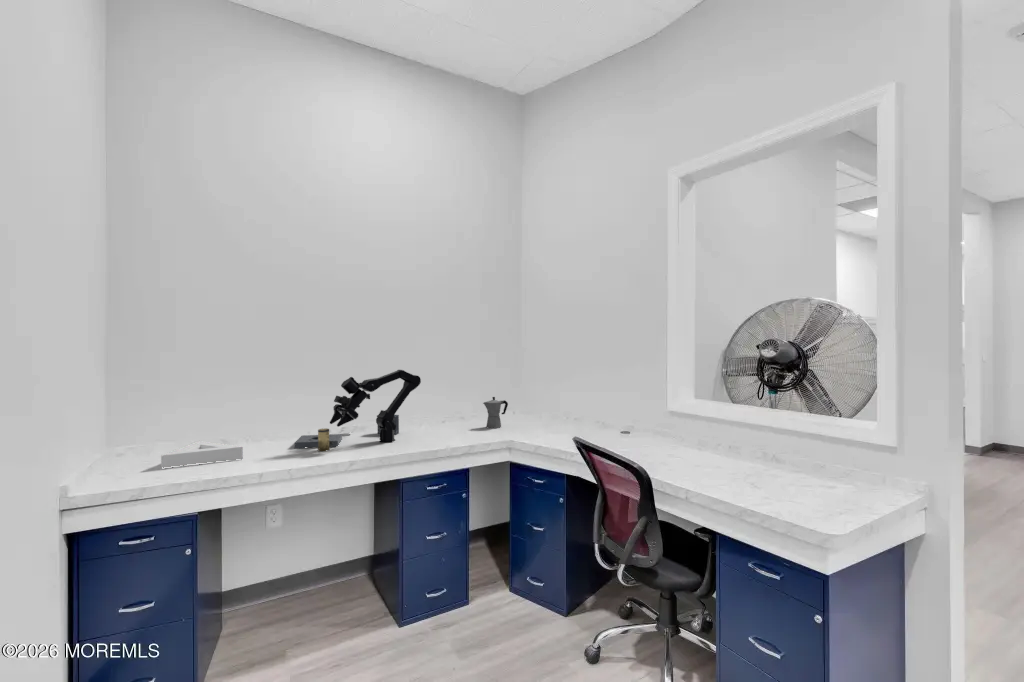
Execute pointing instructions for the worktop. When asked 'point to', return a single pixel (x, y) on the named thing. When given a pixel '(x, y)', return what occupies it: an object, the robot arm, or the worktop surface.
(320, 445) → the cylinder
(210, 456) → the triangle block
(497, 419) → the coffeepot
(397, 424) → the small box
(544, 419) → the worktop surface
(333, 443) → the grey octagonal hole plate
